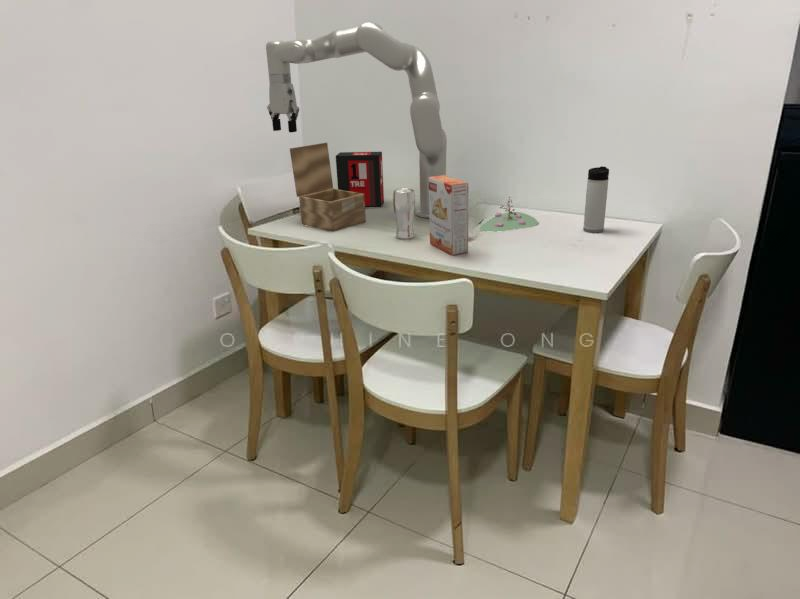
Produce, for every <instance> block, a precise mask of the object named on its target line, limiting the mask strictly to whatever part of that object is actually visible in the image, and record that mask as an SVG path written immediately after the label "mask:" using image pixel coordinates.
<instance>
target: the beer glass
mask: <svg viewBox="0 0 800 599" xmlns="http://www.w3.org/2000/svg"><path fill="white" fill-rule="evenodd" d="M392 196H393V198H392V200H393V202H392V203H393V204H392V205H393V213H394V218H395V222H396V232H395V238H396V239H399V240H410V239H413V238H415V237H416V236H415V231H414V230H415V229H414V220H415V214H416V197H415V196H416V195H415V189H412V188H397V189H394V190H393V194H392Z"/></svg>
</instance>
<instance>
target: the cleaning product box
mask: <svg viewBox="0 0 800 599" xmlns="http://www.w3.org/2000/svg"><path fill="white" fill-rule="evenodd" d="M335 166H336V179H337V180H336V181H337V182H336V183H337V189H338V190H344V191H350V192H356V193H362V194H364V198H365V207H381V208H382V207H383V205H384V203H385V196H384V195H385V192H384V190H385V189H384V171H383V168H384V167H383V152H382V151H347V152H346V151H344V152H343V151H340V152H338V154H336V155H335Z"/></svg>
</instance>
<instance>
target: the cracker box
mask: <svg viewBox="0 0 800 599" xmlns="http://www.w3.org/2000/svg"><path fill="white" fill-rule="evenodd" d="M428 219H429V220H428V221H429V243H430V244H431V245H433V246H434V247H436V248H437V249H440V250H442V251H444V252H445V253H447V254H449V255H451V256H457V255H461V254H467V253H468V252H469V182H467V181H464V180H460V179H457V178H453V177H452V176H448V175H447V174H446V175H441V176H433V177H429V218H428ZM456 254H457V255H456Z"/></svg>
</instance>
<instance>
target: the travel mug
mask: <svg viewBox="0 0 800 599" xmlns="http://www.w3.org/2000/svg"><path fill="white" fill-rule="evenodd" d="M609 176H610V169H609V168H607V166H602V165H601V166H598V167H591V168H589V169H588V172H587V181H586V182H587V183H586V192H585V193H586V194H585V205H584V217H583V231H584V232H586V233H590V234H591V233H592V234H599V233H600V234H601V233H603V232H604V229H605V218H606V211H607V210H606V208H607V198H608V191H609V190H608V188H609Z"/></svg>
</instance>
